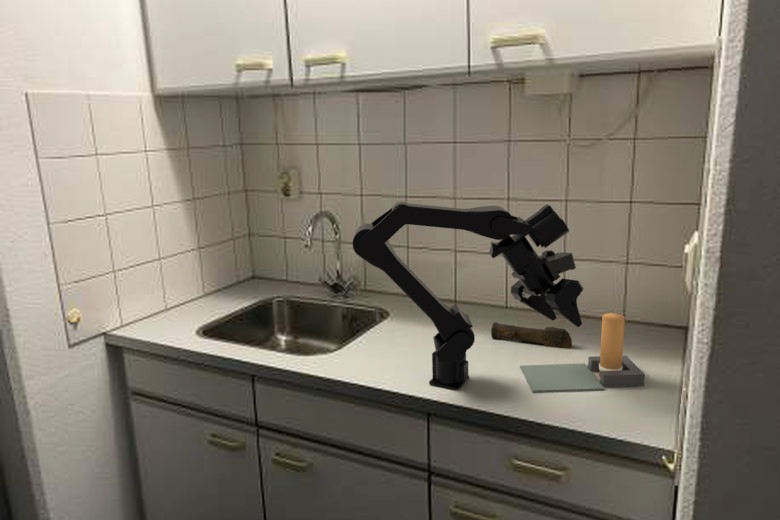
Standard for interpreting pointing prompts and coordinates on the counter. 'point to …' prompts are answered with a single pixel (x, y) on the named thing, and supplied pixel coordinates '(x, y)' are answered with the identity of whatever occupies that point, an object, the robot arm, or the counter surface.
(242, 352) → the counter surface
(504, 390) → the counter surface
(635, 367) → the dark grey piece
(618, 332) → the orange peg
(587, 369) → the mat
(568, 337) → the wooden log
